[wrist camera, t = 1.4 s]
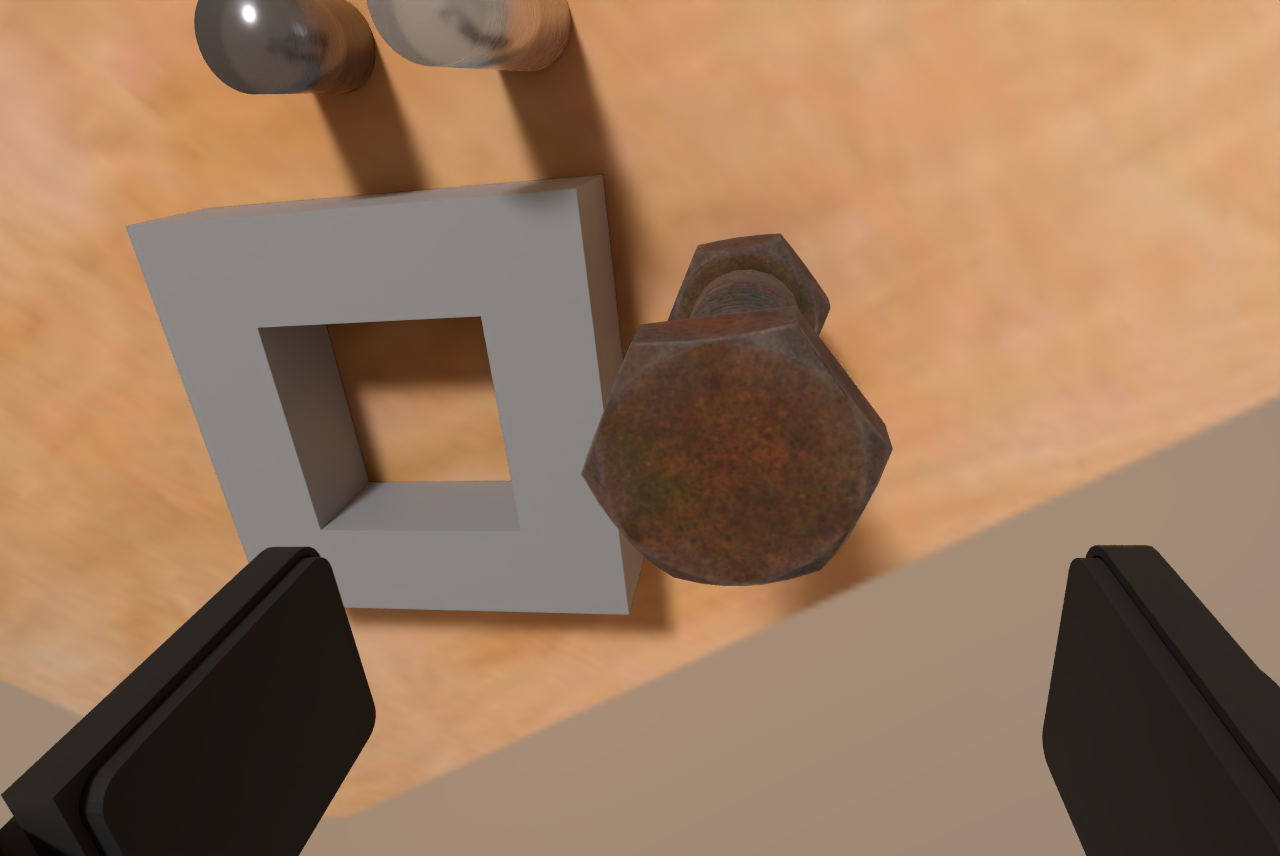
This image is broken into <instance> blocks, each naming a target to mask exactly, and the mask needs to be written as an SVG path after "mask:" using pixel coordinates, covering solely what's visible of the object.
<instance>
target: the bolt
mask: <svg viewBox="0 0 1280 856" xmlns="http://www.w3.org/2000/svg"><path fill="white" fill-rule="evenodd" d="M829 310H830V304H829V300H828V297H827V296H826V294H825V293H824V291H823V290H822V288H821V287H820V285H819V284H818V283H817V281H816V280H815V278H814V277H813V275H812V274H811V273H810V271H809V270H808V268H807V267H806V266H805V264H804V263H803V262H802V260H801V259H800V258H799V256H798V255H797V254H796V252H795V251H794V250H793V248H792V247H791V246H790V245H789V244H788V242H787V241H786V240H785V239H784V237H783V236H782V235H781V234H766V235H755V236H747V237H739V238H733V239H727V240H721V241H716V242H711V243H707V244H702V245H698V247H697V249H696V251H695V253H694V256H693V258H692V261H691V263H690V266H689V268H688V271H687V273H686V276H685V278H684V281H683V283H682V286H681V288H680V291H679V293H678V296H677V298H676V301H675V303H674V306H673V308H672V311H671V313H670V316H669V319H668V321H666V322H658V323H650V324H642V325H640V326H639V328H638V330H637V332H636V334H635V336H634V338H633V340H632V342H631V344H630V346H629V348H628V351H627V353H626V356H625V358H624V360H623V363H622V365H621V368H620V370H619V372H618V375H617V377H616V380H615V382H614V385H613V388H612V390H611V393H610V396H609V398H608V401H607V403H606V406H605V409H604V411H603V414H602V416H601V419H600V422H599V424H598V427H597V430H596V432H595V435H594V438H593V440H592V443H591V446H590V448H589V451H588V454H587V457H586V460H585V463H584V466H583V470H582V473H581V475H582V476H583V478H584V480H585V482H586V483H587V485H588V487H589V488H590V490H591V492H592V493H593V495H594V497H595V498H596V500H597V502H598V503H599V505H600V506H601V507H602V509H603V510H604V511H605V513H606V514H607V516H608V517H609V518H610V520H611V521H612V522H613V523H614V525H615V526H616V527H617V528H618V529H619V531H620V532H621V533H622V534H623V535H624V537H625V538H626V539H627V540H628V541H629V542H630V543H631V544H632V545H633V547H634V548H635V549H636V550H637V551H639V552H640V553H641V554H642V555H643V556H644V557H646V558H647V559H648V560H649V561H650V562H652V563H653V564H654V565H656V566H657V567H659V568H660V569H662V570H663V571H665V572H666V573H668V574H669V575H671V576H672V577H674V578H679V579H683V580H688V581H693V582H697V583H702V584H711V585H721V586H749V585H763V584H768V583H773V582H779V581H784V580H789V579H793V578H796V577H799V576H803V575H806V574H809V573H813V572H816V571H819V570H821V569H822V568H823V567H824V566H825V565H826V563H827V562H828V561H829V560H830V559H831V558H832V557H833V556H834V555H835V554H836V553H837V551H838V550H839V549H840V548H841V546H842V545H843V544H844V542H845V541H846V540H847V538H848V537H849V535H850V533H851V532H852V530H853V528H854V527H855V525H856V523H857V521H858V520H859V518H860V516H861V514H862V512H863V511H864V509H865V507H866V505H867V503H868V501H869V500H870V498H871V496H872V494H873V492H874V490H875V488H876V487H877V485H878V483H879V481H880V478H881V476H882V473H883V471H884V468H885V466H886V464H887V461H888V459H889V456H890V454H891V452H892V449H893V448H892V445H891V442H890V439H889V436H888V432H887V429H886V426H885V423H884V422H883V421H882V419H881V418H880V417H879V415H878V414H877V413H876V411H875V410H874V409H873V407H872V406H871V405H870V404H869V402H868V401H867V400H866V398H865V397H864V396H863V394H862V393H861V392H860V390H859V389H858V388H857V386H856V385H855V384H854V382H853V381H852V380H851V378H850V377H849V376H848V374H847V373H846V372H845V370H844V369H843V368H842V366H841V365H840V364H839V362H838V361H837V360H836V358H835V357H834V356H833V354H832V353H831V352H830V350H829V349H828V348H827V346H826V345H825V344H824V343H823V341H822V340H821V339H820V337H819V334H820V332H821V329H822V327H823V325H824V322H825V320H826V318H827V315H828V313H829Z"/></svg>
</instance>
